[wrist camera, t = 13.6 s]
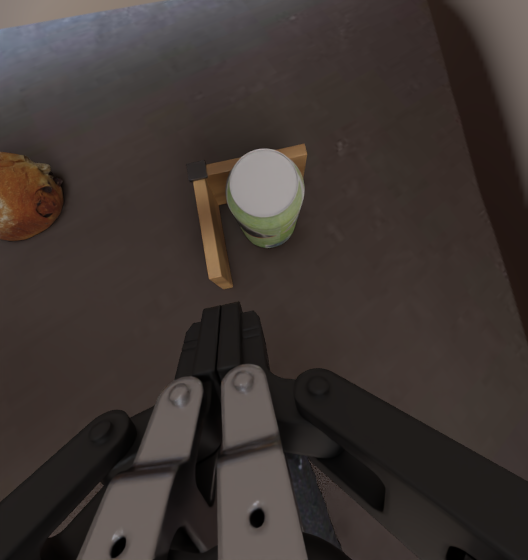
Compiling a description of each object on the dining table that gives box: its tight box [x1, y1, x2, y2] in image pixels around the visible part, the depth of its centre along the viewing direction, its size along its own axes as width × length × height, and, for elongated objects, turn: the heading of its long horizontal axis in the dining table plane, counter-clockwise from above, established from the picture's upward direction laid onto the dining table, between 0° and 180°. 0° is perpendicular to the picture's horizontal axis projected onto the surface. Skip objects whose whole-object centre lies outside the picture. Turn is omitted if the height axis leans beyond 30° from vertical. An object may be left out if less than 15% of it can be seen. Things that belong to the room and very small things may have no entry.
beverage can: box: [225, 149, 304, 248], centre depth 24 cm, size 6×7×12 cm
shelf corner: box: [186, 144, 307, 289], centre depth 27 cm, size 12×12×6 cm
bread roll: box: [0, 152, 64, 241], centre depth 30 cm, size 10×10×8 cm
